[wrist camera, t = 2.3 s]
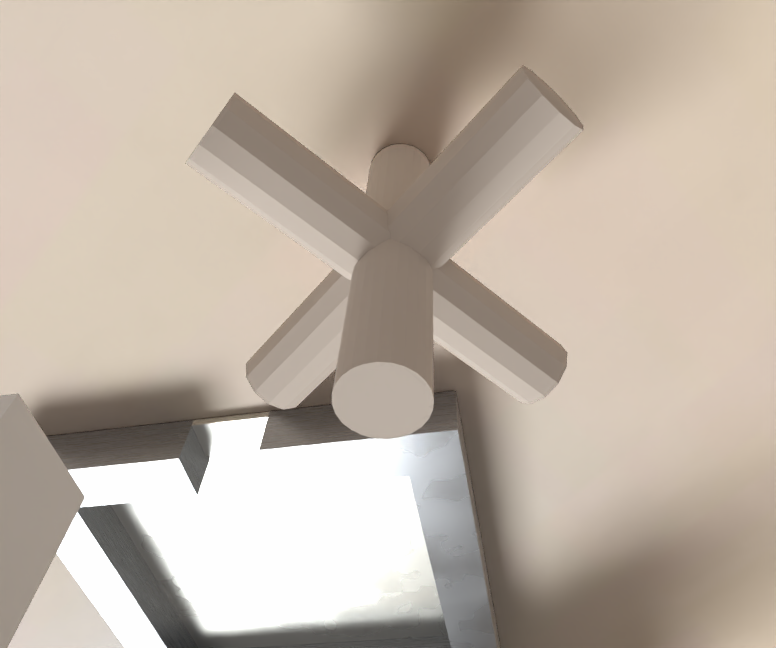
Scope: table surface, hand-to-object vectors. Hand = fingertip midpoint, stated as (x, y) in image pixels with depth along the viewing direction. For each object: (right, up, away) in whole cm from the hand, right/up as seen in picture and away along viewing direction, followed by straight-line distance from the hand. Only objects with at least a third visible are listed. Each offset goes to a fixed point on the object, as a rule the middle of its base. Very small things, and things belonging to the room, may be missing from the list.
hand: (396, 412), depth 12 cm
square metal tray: (-4, -9, +19) cm, 22 cm away
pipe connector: (0, +6, +9) cm, 11 cm away
